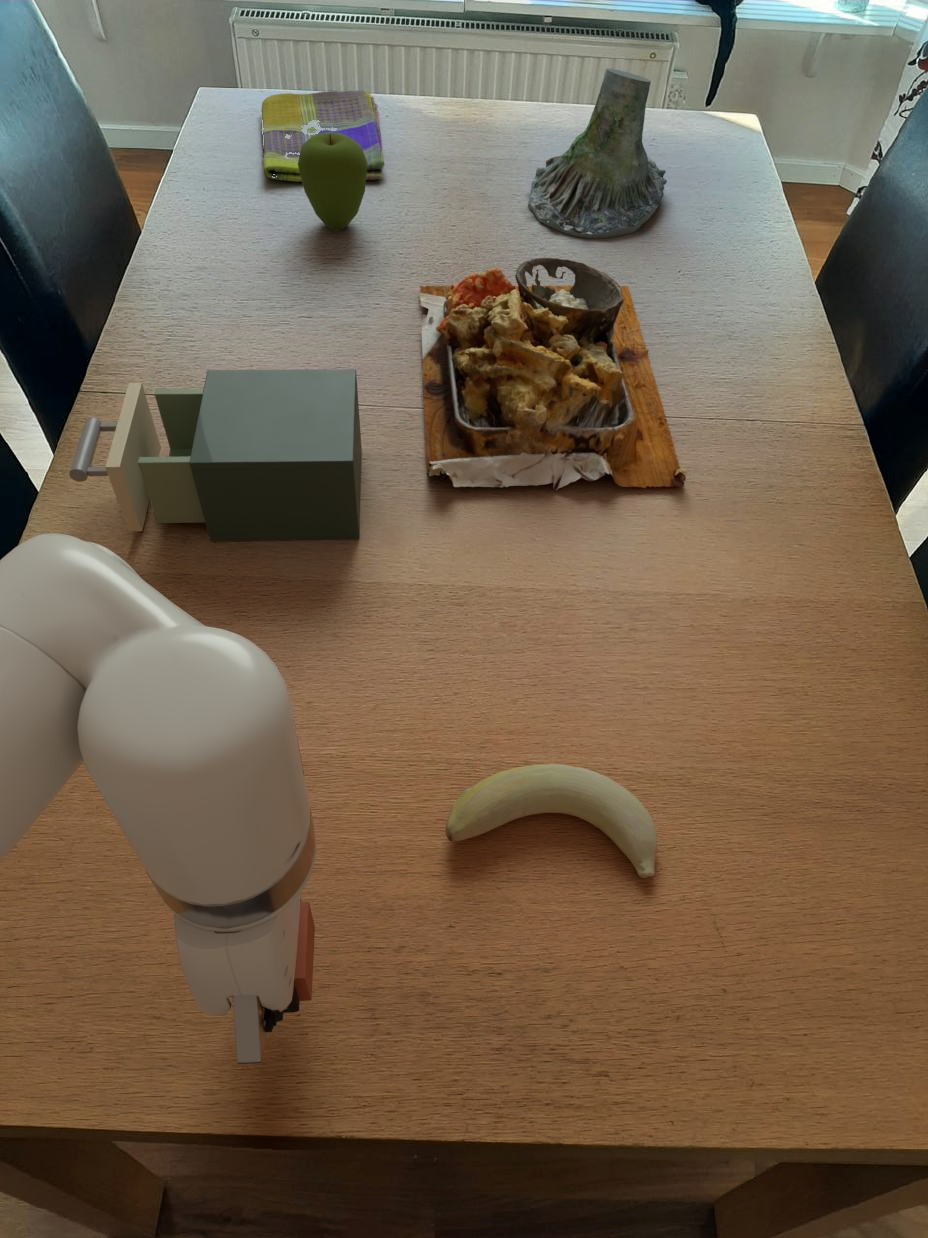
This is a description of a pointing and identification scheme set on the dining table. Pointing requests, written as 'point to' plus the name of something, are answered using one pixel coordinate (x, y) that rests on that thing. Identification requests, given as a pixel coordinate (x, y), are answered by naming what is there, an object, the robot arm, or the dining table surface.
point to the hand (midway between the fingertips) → (275, 962)
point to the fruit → (558, 807)
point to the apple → (333, 177)
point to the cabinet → (279, 455)
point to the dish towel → (332, 109)
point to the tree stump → (603, 168)
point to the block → (305, 953)
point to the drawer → (147, 457)
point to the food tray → (541, 383)
